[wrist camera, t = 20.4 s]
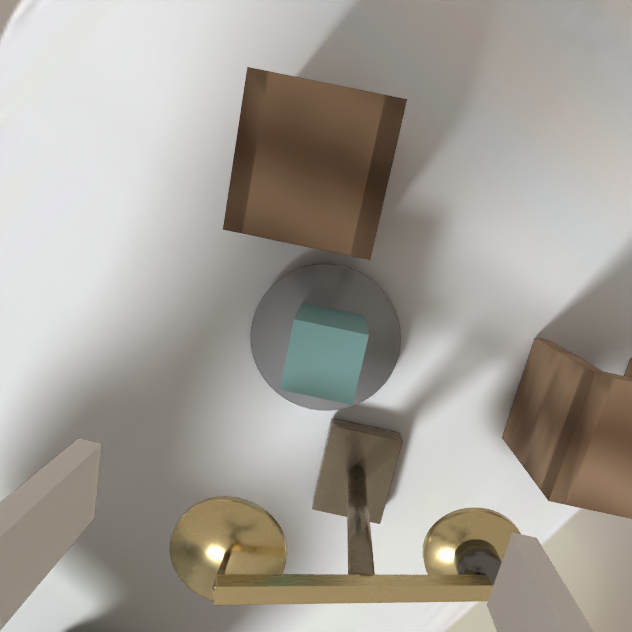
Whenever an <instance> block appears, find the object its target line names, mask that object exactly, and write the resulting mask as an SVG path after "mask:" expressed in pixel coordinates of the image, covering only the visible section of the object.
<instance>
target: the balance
mask: <svg viewBox="0 0 632 632" xmlns="http://www.w3.org/2000/svg"><path fill="white" fill-rule="evenodd" d="M401 445H402V438H401V435H400V433H398V432H393V431H388V430H384V429H379V428H374V427H370V426H365V425H360V424H356V423H351V422H346V421H342V420H337V419H331V423H330V428H329V432H328V437H327V441H326V445H325V450H324V454H323V459H322V463H321V467H320V472H319V476H318V480H317V485H316V489H315V494H314V498H313V507H312V509H314V510H318V511H323V512H327V513H332V514H336V515H341V516H346V517H347V526H348V575H314V574H283V571H284V568H285V562H286V556H287V546H286V540H285V537H284V534H283V532H282V529H281V527H280V526H279V524H278V523H277V521H276V520H275V519H274V518H273V517H272V516H271V515H270V514H269V513H268V512H267V511H266V510H264V509H263V508H261V507H260V506H258V505H256V504H255V503H252V502H250V501H247V500H244V499H241V498H236V497H214V498H209V499H206V500H203V501H201V502H199V503H197V504H195V505H194V506H192V507H191V508H190V509H188V510H187V511H186V512H185V513H184V515H183V516H182V517H181V519H180V520H179V522H178V524H177V526H176V527H175V529H174V531H173V534H172V537H171V541H170V556H171V560H172V564H173V566H174V569H175V570H176V572H177V574H178V576H179V577H180V578H181V580H182V581H183V582H184V583H185V584H186V585H187V586H188V587H189V588H190V589H192V590H193V591H194V592H196V593H197V594H199V595H201V596H203V597H205V598H207V599H210V600H212V601H213V605H251V604H322V603H393V602H465V601H488V600H489V597H490V594H491V591H492V588H493V585H494V583H495V580H496V577H497V574H498V571H499V568H500V566H501V563H502V560H503V557H504V554H505V551H506V549H507V546H508V543H509V540H510V537H511V534H512V533H516V534H521V533H520V532H519V530H518V528H517V527H516V526H515V524H514V523H513V522H512V521H511V520H509V519H508V518H507V517H505V516H504V515H502V514H500V513H498V512H495V511H493V510H489V509H484V508H465V509H460V510H457V511H453V512H451V513H449V514H447V515H445V516H444V517H442V518H441V519H439V520H438V521H437V522H436V523H435V524H434V525H433V526H432V527H431V529H430V530H429V531H428V533H427V535H426V537H425V540H424V544H423V559H424V563H425V568H426V571H427V573H428V575H375V574H374V563H373V552H372V541H371V529H370V522H373V523H378V524H380V522H381V519H382V515H383V511H384V508H385V504H386V500H387V496H388V493H389V489H390V485H391V482H392V478H393V474H394V471H395V467H396V463H397V460H398V456H399V452H400V449H401Z"/></svg>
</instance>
